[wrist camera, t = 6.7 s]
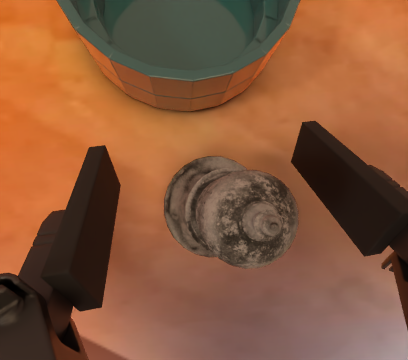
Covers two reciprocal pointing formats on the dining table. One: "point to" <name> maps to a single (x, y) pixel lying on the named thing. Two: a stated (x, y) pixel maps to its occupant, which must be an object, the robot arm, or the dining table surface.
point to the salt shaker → (230, 212)
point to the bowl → (181, 45)
